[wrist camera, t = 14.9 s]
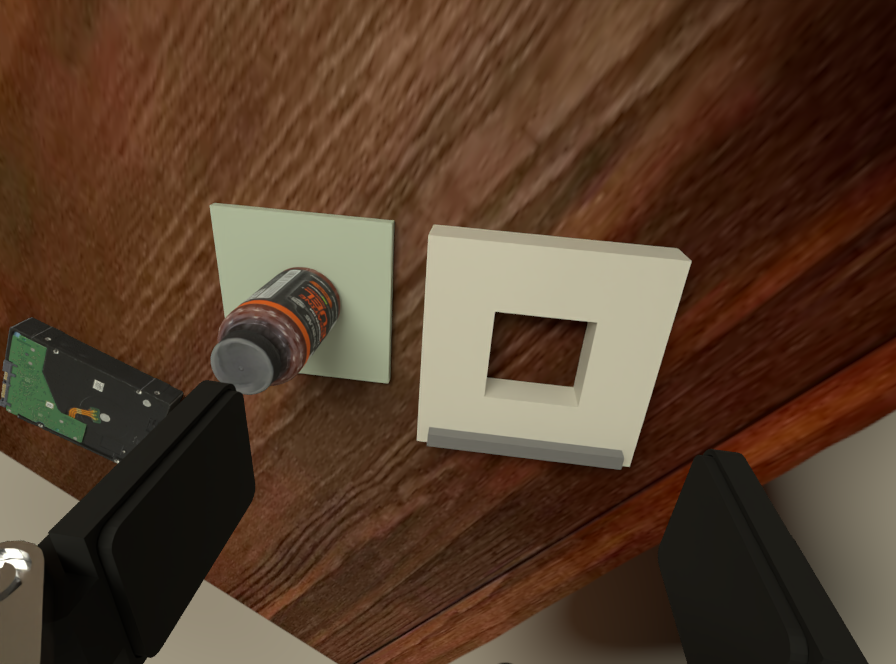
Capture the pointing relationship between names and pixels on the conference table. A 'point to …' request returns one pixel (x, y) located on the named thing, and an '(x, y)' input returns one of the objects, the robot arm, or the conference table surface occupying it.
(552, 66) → the conference table surface
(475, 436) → the dispenser block
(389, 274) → the sage mat
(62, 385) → the disk drive
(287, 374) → the supplement bottle
